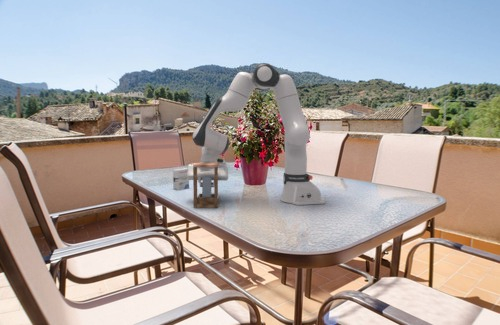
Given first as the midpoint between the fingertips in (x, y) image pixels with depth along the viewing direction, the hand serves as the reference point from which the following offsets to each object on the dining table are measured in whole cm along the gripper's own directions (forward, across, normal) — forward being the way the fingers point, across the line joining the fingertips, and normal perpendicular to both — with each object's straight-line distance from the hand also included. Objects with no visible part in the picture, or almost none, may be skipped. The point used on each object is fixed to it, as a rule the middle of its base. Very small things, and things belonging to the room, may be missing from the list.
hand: (206, 186), depth 143 cm
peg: (+4, 0, +4) cm, 5 cm away
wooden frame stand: (+6, 0, +6) cm, 9 cm away
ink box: (-18, -19, +31) cm, 40 cm away
